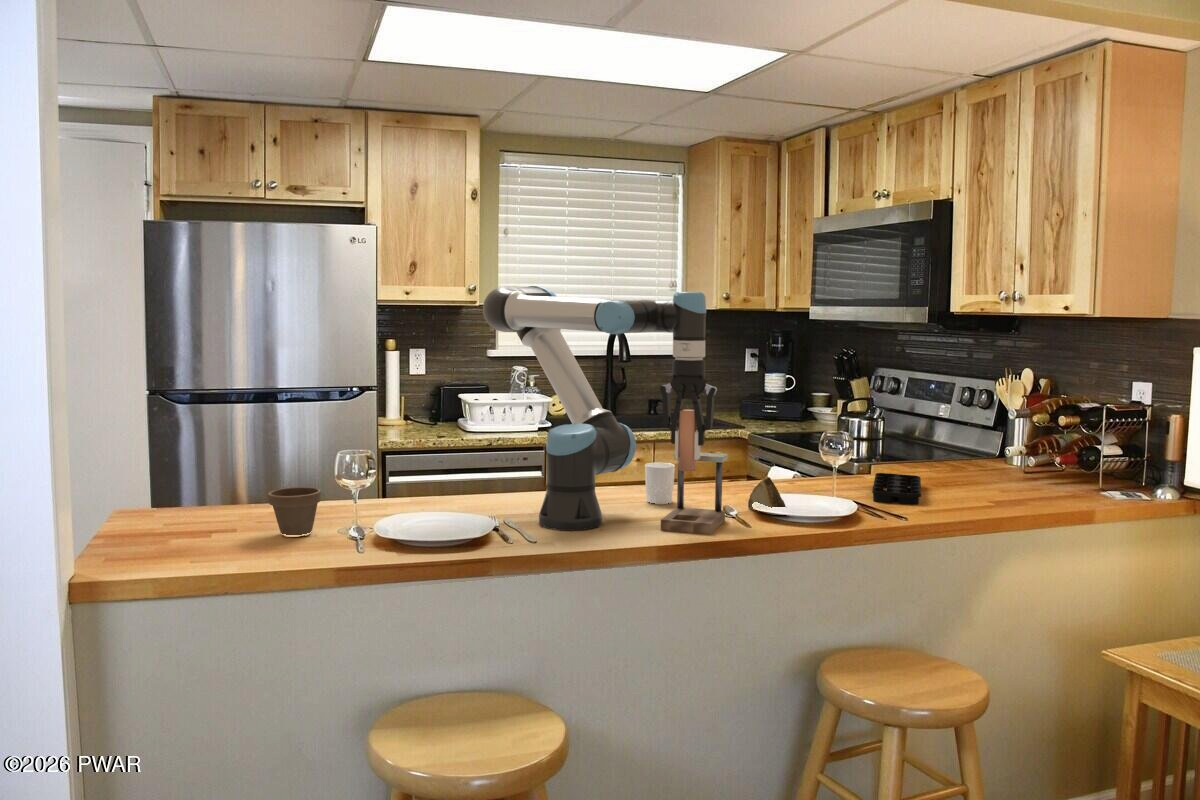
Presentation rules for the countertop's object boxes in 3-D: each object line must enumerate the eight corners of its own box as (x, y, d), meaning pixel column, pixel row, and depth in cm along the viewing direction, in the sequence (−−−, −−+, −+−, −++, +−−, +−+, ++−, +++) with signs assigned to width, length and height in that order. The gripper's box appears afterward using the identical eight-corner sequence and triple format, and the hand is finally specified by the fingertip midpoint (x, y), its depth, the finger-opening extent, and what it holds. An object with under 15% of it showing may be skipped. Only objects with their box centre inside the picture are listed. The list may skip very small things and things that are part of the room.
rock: (736, 499, 258) (747, 502, 248) (755, 473, 258) (767, 474, 249) (769, 524, 259) (781, 528, 249) (787, 497, 259) (800, 500, 250)
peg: (676, 470, 233) (677, 411, 231) (681, 468, 236) (682, 409, 235) (693, 471, 231) (694, 411, 230) (697, 469, 235) (698, 410, 234)
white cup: (674, 499, 268) (675, 462, 267) (673, 505, 261) (674, 467, 260) (645, 498, 269) (645, 462, 268) (643, 504, 261) (644, 467, 260)
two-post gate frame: (673, 510, 243) (674, 454, 242) (678, 506, 248) (679, 451, 247) (721, 514, 239) (722, 457, 238) (725, 509, 244) (727, 454, 243)
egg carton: (916, 486, 293) (917, 473, 292) (942, 507, 263) (943, 493, 262) (855, 484, 294) (856, 472, 294) (874, 506, 264) (874, 492, 264)
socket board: (660, 530, 233) (660, 519, 233) (677, 516, 247) (677, 506, 247) (711, 534, 229) (711, 523, 229) (724, 520, 243) (725, 510, 243)
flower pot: (258, 535, 225) (257, 491, 224) (302, 526, 234) (301, 484, 233) (287, 543, 218) (286, 498, 217) (332, 534, 226) (331, 490, 225)
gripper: (649, 358, 230) (648, 458, 233) (721, 360, 225) (719, 463, 227) (658, 356, 237) (657, 454, 240) (728, 358, 232) (726, 458, 234)
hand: (687, 458), depth 234 cm, fingers closed on peg, 4 cm apart
